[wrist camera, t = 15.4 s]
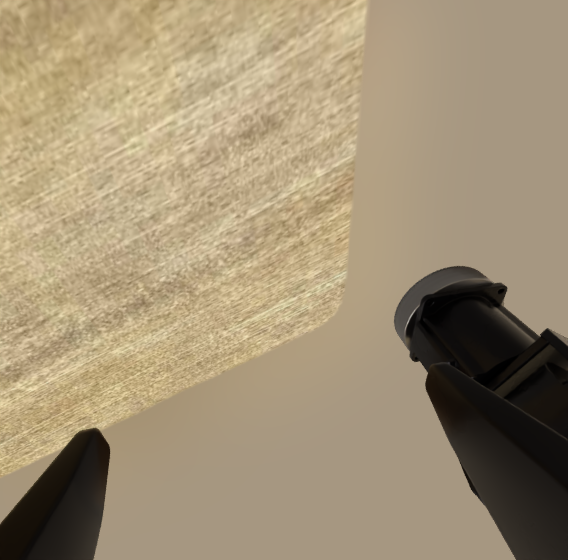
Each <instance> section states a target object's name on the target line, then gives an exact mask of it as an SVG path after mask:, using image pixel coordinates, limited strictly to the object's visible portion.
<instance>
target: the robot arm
mask: <svg viewBox="0 0 568 560" xmlns="http://www.w3.org/2000/svg"><path fill="white" fill-rule="evenodd" d="M506 292H507V287H506V286H505V285H504V284H502V283H494V284H488V285H482V286H476V287H470V288H464V289H458V290H452V291H446V292H440V293H434V294H428V295H425V296H424V297H423V298H422V299H421V302H420V307H419V311H418V316H417V321H416V324H415V328H414V333H413V338H412V343H411V350H410V358H411V359H412V361H414V362H418V361H420V362H421V363H422V365H423V366H424V368H425V369H426V370H427V372H428V375H427V379H426V383H425V386H426V390H427V393H428V395H429V397H430V400H431V402H432V404H433V407H434V409H435V411H436V413H437V416H438V418H439V420H440V422H441V424H442V427H443V429H444V431H445V434H446V435H447V438H448V440H449V442H450V444H451V446H452V448H453V450H454V451H455V453H456V455H457V457H458V459H459V461H460V464H461V466H462V469H463V471H464V474H465V476H466V478H467V480H468V483H469V486H470V488H471V490H472V491H473V493H474V494H475V495H477V497H478V498H479V499H480V501H481V502H482V503H483V504H484V505H485V506H486V508H487V509H488V511H489V513H490V515H491V516H492V518H493V520H494V521H495V523H496V525H497V527H498V529H499V531H500V532H501V534H502V536H503V538H504V539H505V541H506V543H507V545H508V546H509V548H510V550H511V552H512V553H513V555H514V557H515V559H516V560H568V338H566V337H564V336H562V335H560V334H558V333H556V332H554V331H552V330H550V329H548V328H547V329H546V330H545V331H543V332H542V333H541V334H540V335H541V337H540V336H538V335H537V334H536V333H535V332H534V331H532V330H531V329H530V328H528V326H526V325H525V324H524V323H522V321H520V320H519V319H518V318H517V317H516V316H514V315H513V314H512V313H511V312H510V311H508V310H507V309H506V308H505V307H504V306H502V302H503V300H504V297H505V294H506ZM428 301H429V302H428ZM109 459H110V447H109V444H108V443H107V441H106V440H105V438H104V437H103V435H102V433H101V432H100V430H99V429H97V428H91V429H86V430H82V431H79V432H78V433H77V434H76V435H75V436H74V437H73V438H72V440H71V441H70V442H69V443H68V444H67V445H66V447H65V448H64V449H63V450H62V451H61V453H60V454H59V455H58V456H57V457H56V458H55V460H54V461H53V462H52V463H51V464H50V466H49V467H48V468H47V469H46V470H45V472H44V473H43V474H42V475H41V476H40V477H39V479H38V480H37V481H36V482H35V483H34V485H33V486H32V487H31V488H30V489H29V490H28V492H27V493H26V494H25V495H24V497H23V498H22V499H21V500H20V501H19V502H18V503H17V505H16V506H15V507H14V508H13V510H12V511H11V512H10V513H9V514H8V515H7V517H6V518H5V519H4V520H3V521H2V522H1V524H0V560H93V559H94V554H95V550H96V546H97V541H98V537H99V532H100V527H101V522H102V516H103V510H104V501H105V493H106V485H107V475H108V467H109Z"/></svg>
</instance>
